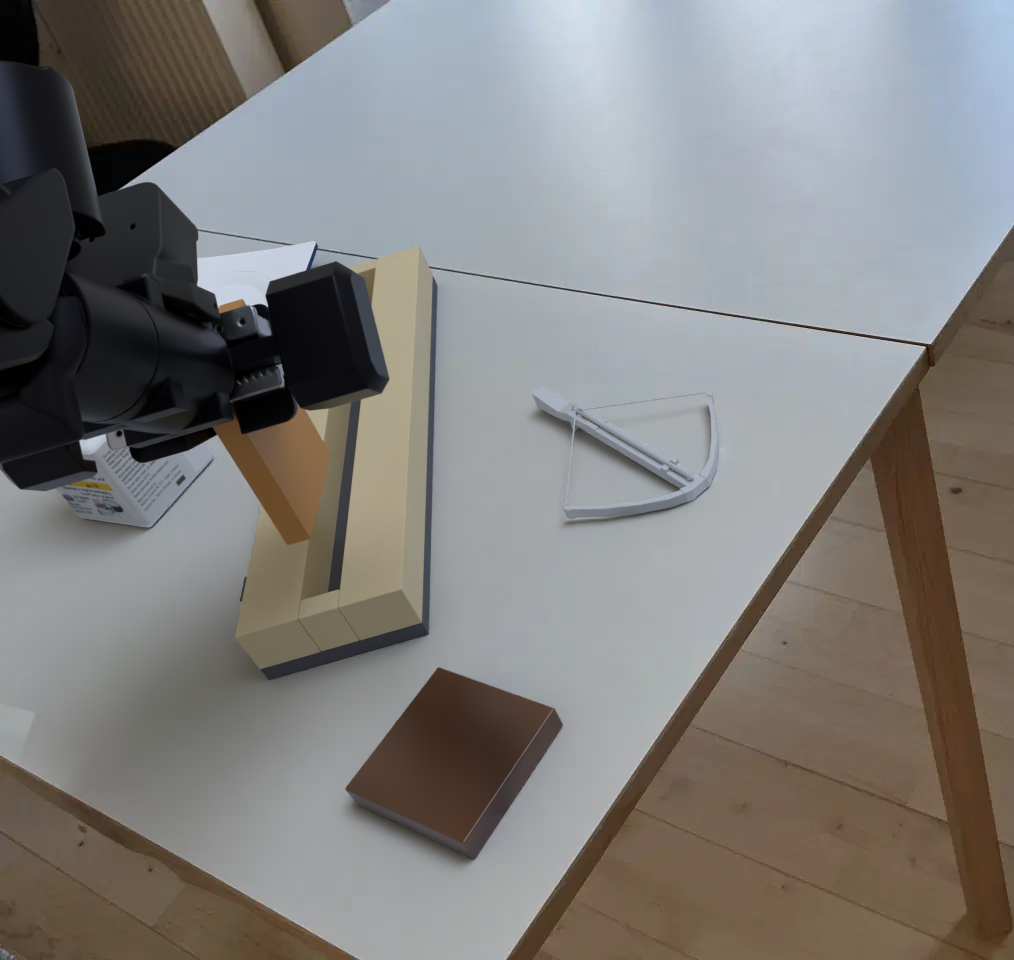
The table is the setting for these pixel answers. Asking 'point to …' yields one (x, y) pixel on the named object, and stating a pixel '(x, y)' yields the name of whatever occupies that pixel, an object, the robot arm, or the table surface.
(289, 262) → the plate
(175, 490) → the container
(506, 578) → the table surface
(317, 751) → the table surface
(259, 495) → the toast
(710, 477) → the crossbow
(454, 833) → the bread board
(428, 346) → the toaster
